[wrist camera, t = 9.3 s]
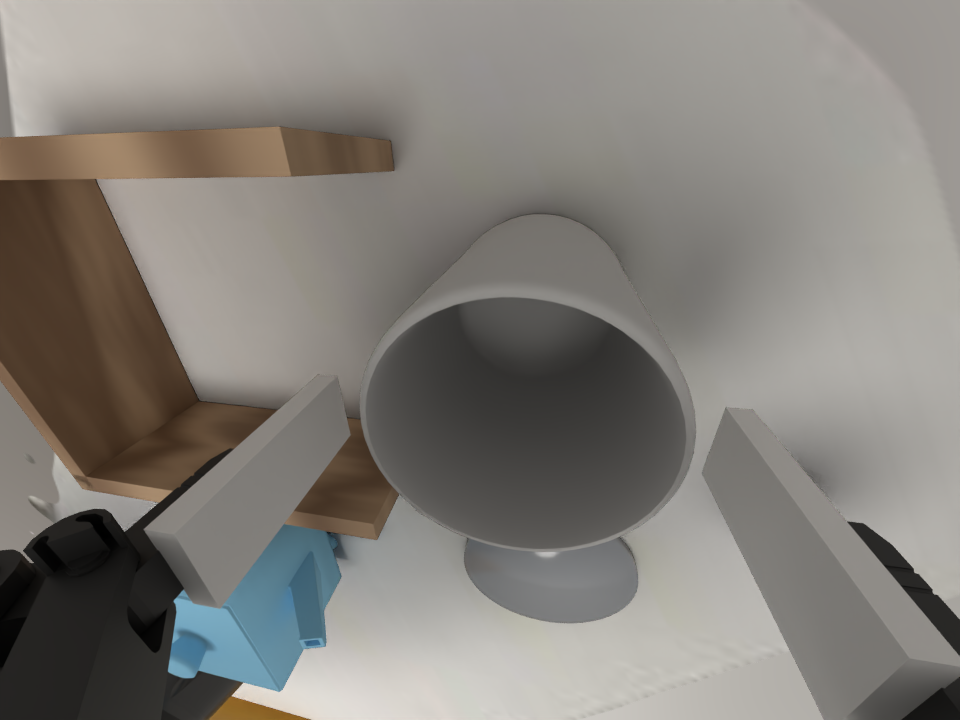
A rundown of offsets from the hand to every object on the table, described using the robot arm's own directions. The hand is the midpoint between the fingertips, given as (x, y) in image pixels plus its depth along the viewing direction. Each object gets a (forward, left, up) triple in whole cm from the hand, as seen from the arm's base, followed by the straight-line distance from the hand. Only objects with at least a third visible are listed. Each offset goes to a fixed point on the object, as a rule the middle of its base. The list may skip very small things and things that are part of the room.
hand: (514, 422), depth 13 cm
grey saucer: (+2, -20, -8) cm, 21 cm away
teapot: (-21, -19, -8) cm, 29 cm away
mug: (-1, 0, -8) cm, 8 cm away
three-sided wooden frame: (-16, 0, -8) cm, 17 cm away
